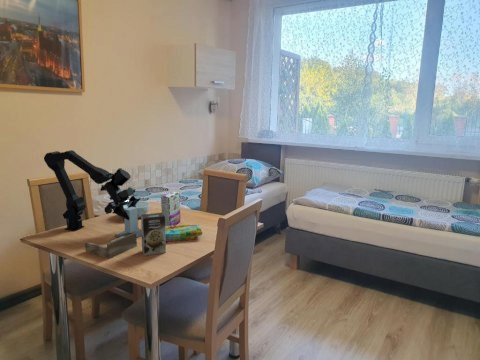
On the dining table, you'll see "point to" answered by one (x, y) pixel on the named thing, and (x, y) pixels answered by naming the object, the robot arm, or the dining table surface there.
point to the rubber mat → (138, 233)
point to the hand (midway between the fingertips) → (133, 217)
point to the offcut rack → (113, 246)
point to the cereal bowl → (140, 207)
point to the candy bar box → (171, 208)
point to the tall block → (131, 220)
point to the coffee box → (153, 233)
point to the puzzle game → (182, 232)
